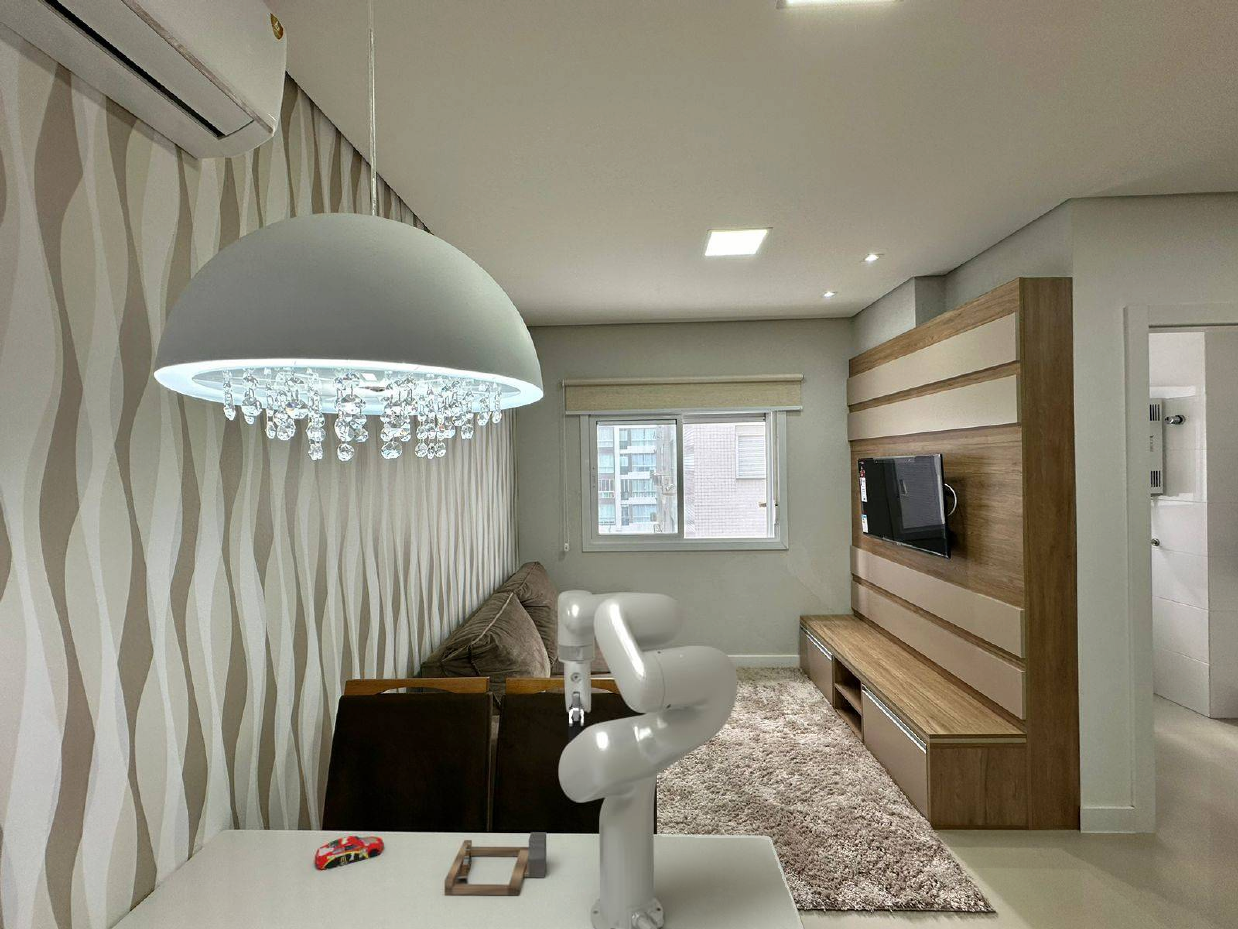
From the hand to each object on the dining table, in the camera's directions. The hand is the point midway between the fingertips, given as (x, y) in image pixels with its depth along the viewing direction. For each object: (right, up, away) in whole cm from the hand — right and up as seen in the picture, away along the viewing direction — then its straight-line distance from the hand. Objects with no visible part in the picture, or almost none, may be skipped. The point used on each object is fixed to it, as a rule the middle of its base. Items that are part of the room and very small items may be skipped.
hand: (577, 736), depth 138 cm
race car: (-47, -25, 0) cm, 53 cm away
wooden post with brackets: (-22, -25, -6) cm, 33 cm away
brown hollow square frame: (-15, -24, -6) cm, 29 cm away
